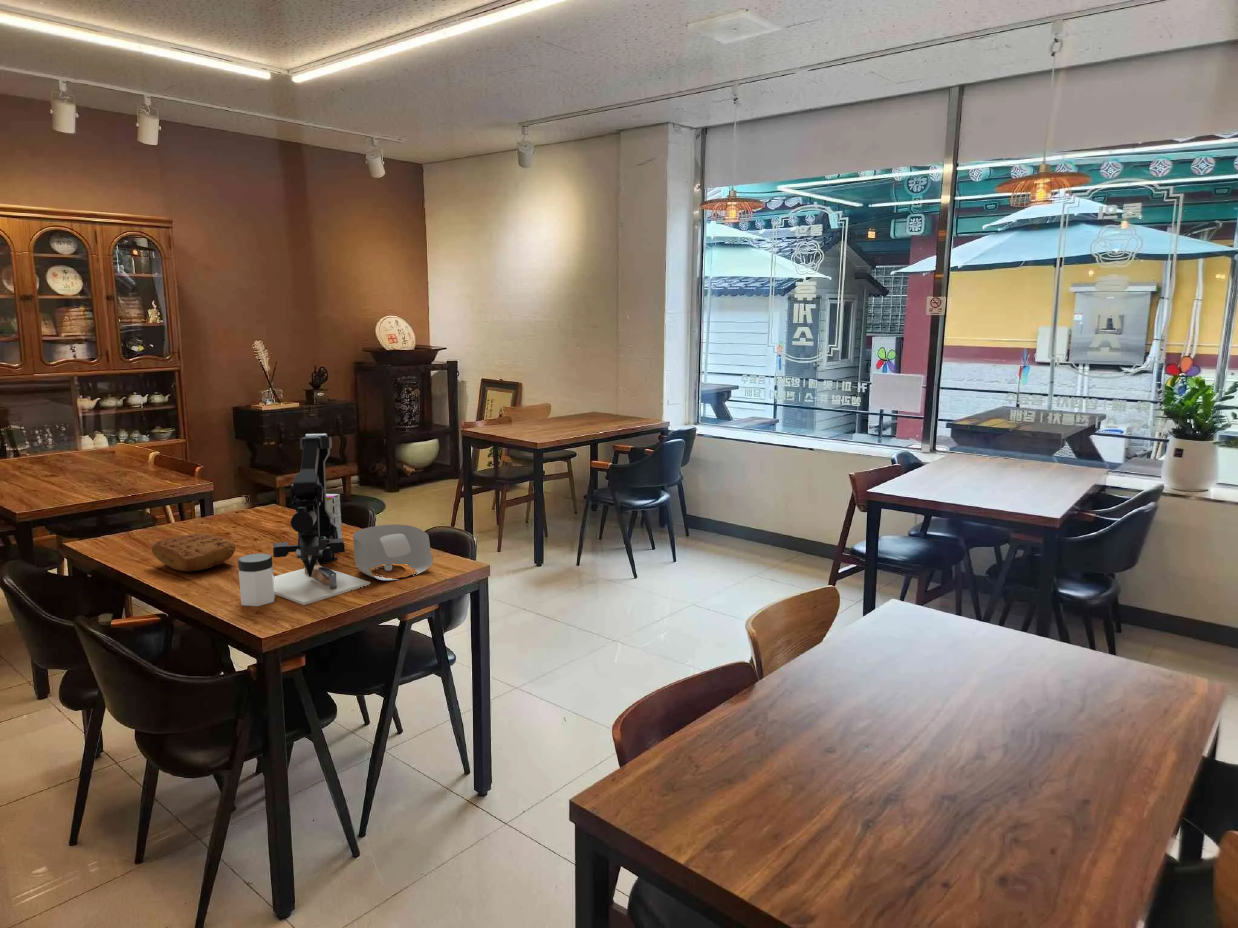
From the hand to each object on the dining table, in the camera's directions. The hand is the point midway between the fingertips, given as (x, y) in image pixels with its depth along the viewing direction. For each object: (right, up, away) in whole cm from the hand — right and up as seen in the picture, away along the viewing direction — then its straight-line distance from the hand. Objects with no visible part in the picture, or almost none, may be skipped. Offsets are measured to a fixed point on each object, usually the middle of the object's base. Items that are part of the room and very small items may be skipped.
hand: (310, 576), depth 225 cm
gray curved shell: (+19, 0, +11) cm, 22 cm away
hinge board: (+1, -2, -2) cm, 3 cm away
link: (+2, 0, +1) cm, 3 cm away
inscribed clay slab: (-41, +1, +15) cm, 43 cm away
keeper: (+4, -1, 0) cm, 4 cm away
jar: (-8, -5, -15) cm, 18 cm away
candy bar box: (-11, +6, +41) cm, 42 cm away
